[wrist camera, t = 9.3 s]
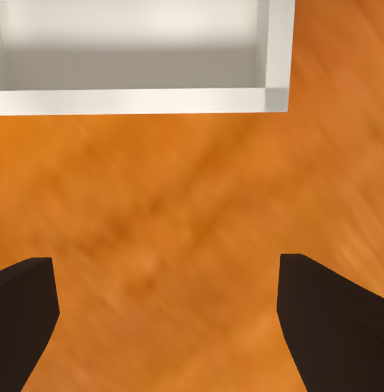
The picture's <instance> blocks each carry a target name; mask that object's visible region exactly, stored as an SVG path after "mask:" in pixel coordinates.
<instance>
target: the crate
mask: <svg viewBox="0 0 384 392" xmlns="http://www.w3.org/2000/svg"><path fill="white" fill-rule="evenodd" d="M294 11H295V0H0V115H72V114H153V113H233V112H288V97H289V83H290V68H291V54H292V40H293V25H294Z"/></svg>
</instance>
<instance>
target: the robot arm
mask: <svg viewBox="0 0 384 392" xmlns="http://www.w3.org/2000/svg"><path fill="white" fill-rule="evenodd" d="M277 313H278V317H279V321H280V325H281V328H282V331H283V335H284V338H285V341H286V343H287V345H288V348H289V350H290V353H291V355H292V357H293V359H294V362H295V364H296V366H297V369H298V371H299V373H300V376H301V378H302V380H303V382H304V385H305V387H306V389H307V391H308V392H384V298H382V297H380V296H378V295H376V294H374V293H372V292H370V291H368V290H366V289H364V288H363V287H361V286H359V285H357V284H355V283H353V282H351V281H350V280H348V279H346V278H344V277H342V276H341V275H339V274H337V273H335V272H334V271H332V270H330V269H328V268H327V267H325V266H323V265H321V264H320V263H318V262H316V261H314V260H312V259H311V258H309V257H307V256H305V255H302V254H281V256H280V269H279V283H278V297H277ZM59 314H60V311H59V305H58V298H57V291H56V285H55V278H54V271H53V264H52V258H51V257H44V258H29V259H26V260H24V261H21V262H19V263H16V264H14V265H12V266H10V267H7V268H5V269H3V270H1V271H0V392H21V390H22V388H23V386H24V385H25V383H26V381H27V379H28V378H29V376H30V374H31V372H32V371H33V369H34V367H35V365H36V364H37V362H38V360H39V358H40V357H41V355H42V353H43V351H44V349H45V348H46V346H47V344H48V342H49V340H50V337H51V335H52V332H53V330H54V327H55V325H56V322H57V320H58V317H59Z"/></svg>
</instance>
